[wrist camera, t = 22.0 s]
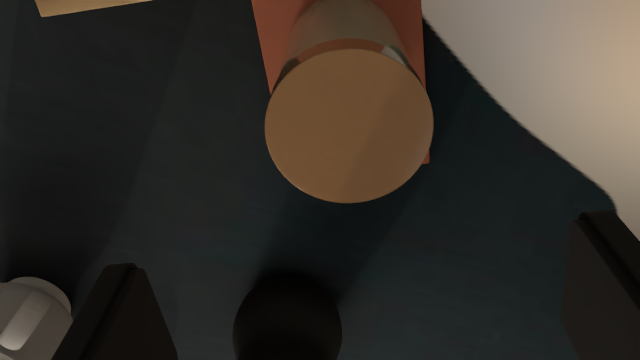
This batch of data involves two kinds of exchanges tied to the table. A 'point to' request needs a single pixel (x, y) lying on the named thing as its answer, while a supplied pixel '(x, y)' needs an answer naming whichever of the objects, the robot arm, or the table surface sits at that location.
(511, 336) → the table surface
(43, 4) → the block
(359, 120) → the jar
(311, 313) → the cola bottle
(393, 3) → the board
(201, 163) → the table surface
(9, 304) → the teacup
